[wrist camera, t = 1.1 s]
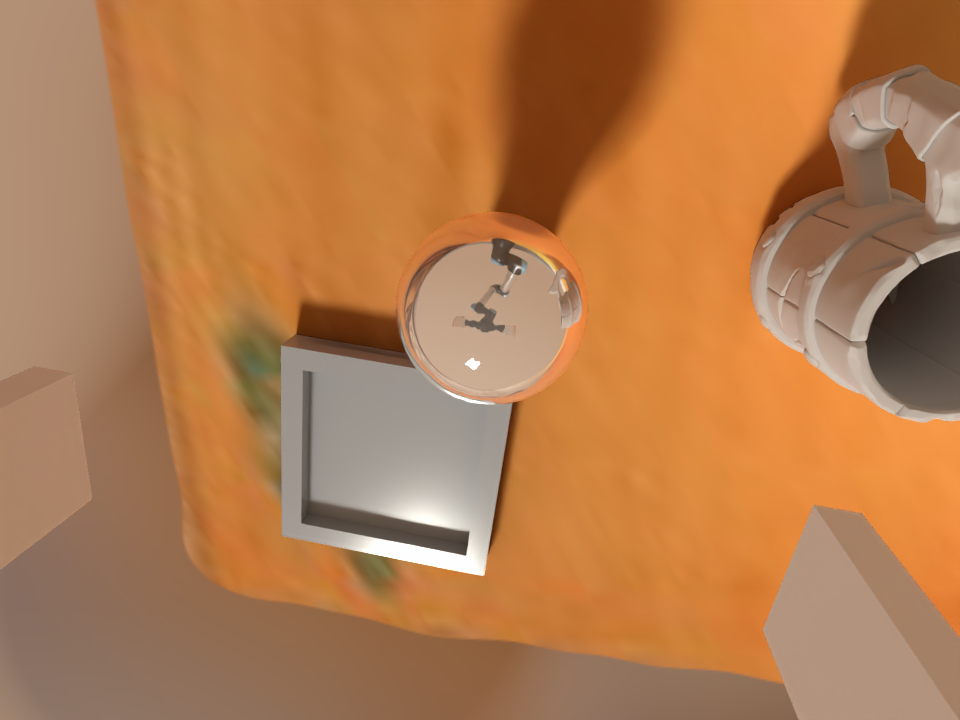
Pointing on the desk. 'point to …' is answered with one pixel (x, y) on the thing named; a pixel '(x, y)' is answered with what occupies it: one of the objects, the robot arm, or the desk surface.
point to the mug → (876, 254)
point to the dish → (386, 457)
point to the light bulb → (491, 308)
